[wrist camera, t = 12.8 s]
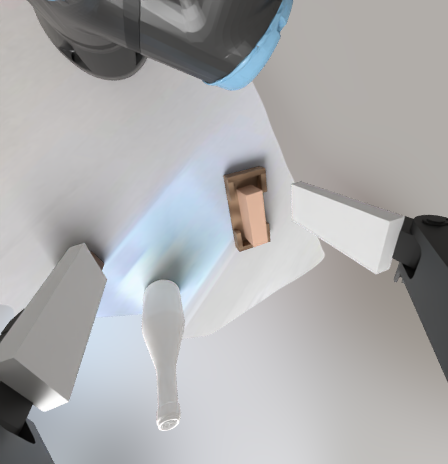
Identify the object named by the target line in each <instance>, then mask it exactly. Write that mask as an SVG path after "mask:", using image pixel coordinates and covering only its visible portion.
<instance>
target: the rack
mask: <svg viewBox="0 0 448 464" xmlns="http://www.w3.org/2000/svg"><path fill="white" fill-rule="evenodd" d="M223 177H224V182H225V188H226V194H227V200H228V205H229V211H230V217H231V223H232V228H233V234H234V240H235V246H236V248H237V249H238V250H239V252H241V251H244V250H247V249H249V248H252V247H253V246H252V245H251V243H250V242H249V241H248V240H247V239H246V238H245V235H244V230H243V224H242V218H241V213H240V207H239V201H238V195H237V190H236V189H238V188H241V187H245V186H248V185H253V186H255V187H257V188H259V189H260V190H262V192H263V193H264V192H267V186H266V171H265V168H263V167H260V166H258V167H254V168H250V169H247V170H243V171H239V172H235V173H231V174H227V175H223ZM266 228H267V238H268V242H270V228H269V223H268V222H266Z"/></svg>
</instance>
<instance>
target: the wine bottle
mask: <svg viewBox="0 0 448 464" xmlns="http://www.w3.org/2000/svg"><path fill="white" fill-rule="evenodd" d="M184 325H185V320H184V314H183V308H182V302H181V296H180V290H179V287H178V286H177V285H176V284H175V283H174V282H172V281H170V280H158V281H155V282H153V283H151V284H150V285H149V286H148V287H147V288H146V290H145V292H144V298H143V314H142V334H143V337H144V340H145V343H146V345H147V347H148V350H149V353H150V356H151V358H152V361H153V363H154V366H155V370H156V374H157V396H158V409H157V412H156V416H157V417H156V422H157V425H158V428H159V430H162V431H165V430H170V429H172V428H174V427H175V426H177V425H178V423H179V419H180V416H181V413H180V405H179V403H178V397H177V396H178V395H177V381H176V362H177V357H178V353H179V348H180V344H181V340H182V336H183V331H184Z"/></svg>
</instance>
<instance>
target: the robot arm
mask: <svg viewBox="0 0 448 464" xmlns="http://www.w3.org/2000/svg"><path fill="white" fill-rule="evenodd" d="M27 1H28V2H29V3H30V4H31V5H32V6H33V8H34V11H35V13H36V16H37V18H38V20H39V22H40V24H41V26H42V28H43V29H44V31H45V32H46V34H47V36H48V37H49V38H50V40H51V41H52V43H53V44H54V45H55V46H56V47H57V49H58V50H59V51H60V52H61V53H62V54H63V55H64V56H65V57H66V58H67V59H69V60H70V61H71V62H72V63H73V64H74V65H76V66H77V67H78V68H80V69H81V70H83V71H85V72H86V73H88V74H90V75H92V76H95V77H97V78H101V79H105V80H122V79H125V78H128V77H130V76H132V75H134V74H135V73H136V72H137V71H138V70H139V69H140V68H141V67H142V66H143V64H144V63H145V61H146V59H147V57H148V58H151V59H153V60H156V61H158V62H160V63H163V64H165V65H168V66H170V67H172V68H175V69H177V70H180V71H182V72H184V73H187V74H189V75H192V76H194V77H196V78H199V79H201V80H202V81H203V82H204V83H205V84H207V85H216V86H218V87H221V88H224V89H227V90H238V89H241V88H243V87H245V86H246V85H248V84H249V83H250V82H251V81H252V80H253V79H254V78H255V77H256V76H257V75H258V74H259V72H260V71H261V70H262V68H263V67H264V66H265V64H266V63H267V61H268V60H269V58H270V56H271V54H272V53H273V51H274V49H275V47H276V46H277V44H278V41H279V39H280V31H281V30H282V28H283V27H284V26H285V25H286V23H287V20H288V17H289V15H290V12H291V8H292V4H293V0H27ZM291 202H292V221H294V222H295V223H297V224H299V225H300V226H302V227H303V228H305V229H306V230H308V231H309V232H311V233H313V234H314V235H316V236H317V237H319V238H320V239H322V240H324V241H325V242H327V243H328V244H330V245H331V246H333V247H334V248H336V249H338V250H339V251H341V252H342V253H344V254H345V255H347V256H349V257H350V258H352V259H353V260H355V261H356V262H358V263H359V264H361V265H362V266H364V267H365V268H367V269H369V270H370V271H372V272H373V273H375V274H378V273H380V272H383V271H386V270H388V269H389V268H390V264H391V261H392V258H394V259H396V260H397V261H399V265H398V268H397V271H396V274H395V277H394V282H397V281H398V278H399V277H402V283H404V284H405V286H406V288H407V290H408V293H409V295H410V297H411V299H412V302H413V304H414V306H415V308H416V311H417V313H418V315H419V318H420V320H421V322H422V324H423V327H424V329H425V331H426V334H427V336H428V338H429V340H430V343H431V345H432V347H433V349H434V352H435V354H436V356H437V359H438V361H439V363H440V365H441V368H442V370H443V372H444V375H445V377H446V379H447V381H448V218H446V217H442V216H436V215H421V216H417V217H415V218H414V219H412V218H409V217H406V216H403V215H400V214H397V213H394V212H391V211H388V210H385V209H382V208H379V207H376V206H373V205H370V204H367V203H364V202H361V201H358V200H355V199H352V198H349V197H346V196H343V195H341V194H338V193H335V192H332V191H329V190H326V189H323V188H320V187H316V186H314V185H311V184H308V183H305V182H302V181H300V182H297V183H293V184H291ZM106 281H107V279H106V277H105V275H104V274H103V272H102V270H101V269H100V267H99V266H98V264H97V262H96V261H95V259H94V258H93V256H92V254H91V253H90V251H89V249H88V248H87V246H86V245H85V243H82V244H79V245H75V246H72V247H69V249H68V250H67V251H66V253H65V254H64V256H63V257H62V258H61V260H60V261H59V262H58V264H57V265H56V267H55V268H54V269H53V271H52V272H51V273H50V275H49V276H48V278H47V279H46V280H45V282H44V283H43V284H42V286H41V287H40V289H39V290H38V291H37V293H36V294H35V296H34V297H33V298H32V300H31V301H30V302H29V304H28V305H27V307H26V308H25V309H23V310H22V311H21V312H20V313H18V314H17V315H16V316H15V317H14V318H13V319H12V320H11V321H10V322H9V323H8V324H7V326H6V327H5V329H4V330H3V331H2V332H1V335H0V464H54V462H53V460H52V458H51V456H50V454H49V452H48V450H47V448H46V446H45V444H44V443H43V440H42V438H41V437H40V434H39V433H38V431H37V429H36V427H35V425H34V423H33V422H32V421H30V420H29V419H28V418H27V416H28V414H29V411H30V409H31V407H32V405H35V406H36V407H37V408H39V409H40V410H42V411H43V412H45V411H48V410H50V409H53V408H55V407H57V406H60V405H62V404H65V403H67V402H69V399H70V396H71V393H72V390H73V387H74V383H75V380H76V377H77V374H78V371H79V367H80V364H81V361H82V358H83V355H84V352H85V348H86V345H87V342H88V339H89V335H90V332H91V329H92V326H93V323H94V320H95V316H96V313H97V310H98V307H99V304H100V300H101V297H102V294H103V291H104V288H105V285H106Z"/></svg>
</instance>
